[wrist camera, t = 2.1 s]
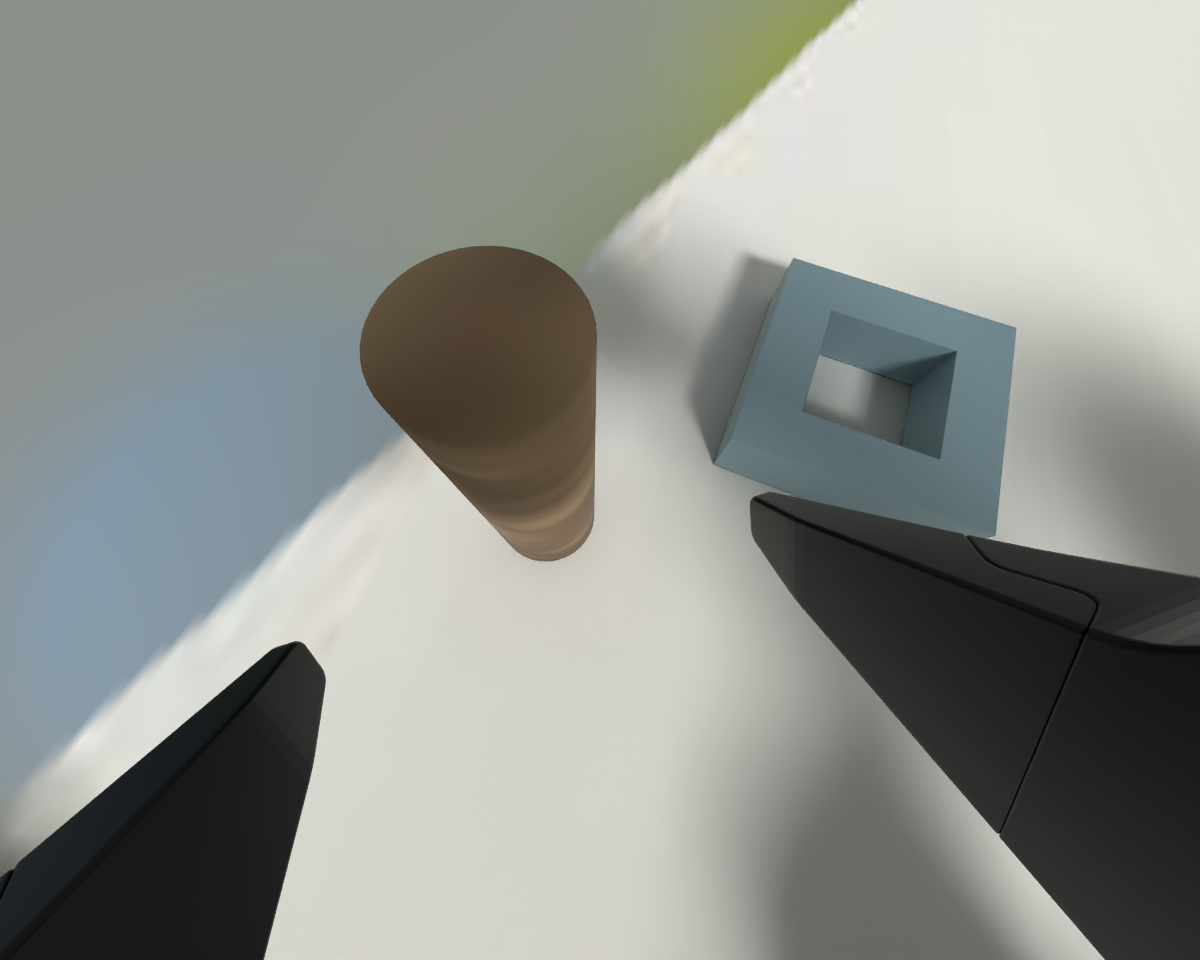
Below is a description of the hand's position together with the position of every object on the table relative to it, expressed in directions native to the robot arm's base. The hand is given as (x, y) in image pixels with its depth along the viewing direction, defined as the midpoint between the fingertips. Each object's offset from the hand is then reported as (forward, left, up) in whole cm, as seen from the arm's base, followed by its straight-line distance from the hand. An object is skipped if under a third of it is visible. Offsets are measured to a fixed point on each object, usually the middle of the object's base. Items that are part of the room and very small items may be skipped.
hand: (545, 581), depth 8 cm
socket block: (-9, -15, -11) cm, 20 cm away
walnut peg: (+3, -4, -11) cm, 12 cm away
